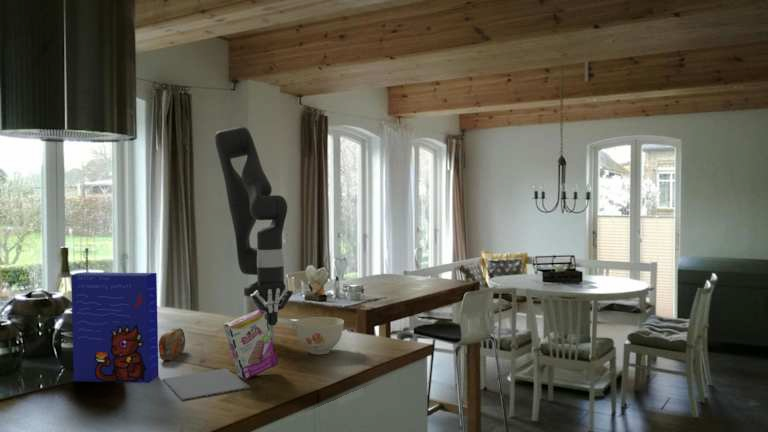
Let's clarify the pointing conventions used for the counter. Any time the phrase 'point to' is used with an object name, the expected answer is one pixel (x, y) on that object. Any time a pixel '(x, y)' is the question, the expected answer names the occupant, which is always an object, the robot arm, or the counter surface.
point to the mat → (205, 383)
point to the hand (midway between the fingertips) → (272, 324)
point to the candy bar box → (251, 344)
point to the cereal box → (115, 327)
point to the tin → (171, 344)
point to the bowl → (319, 333)
